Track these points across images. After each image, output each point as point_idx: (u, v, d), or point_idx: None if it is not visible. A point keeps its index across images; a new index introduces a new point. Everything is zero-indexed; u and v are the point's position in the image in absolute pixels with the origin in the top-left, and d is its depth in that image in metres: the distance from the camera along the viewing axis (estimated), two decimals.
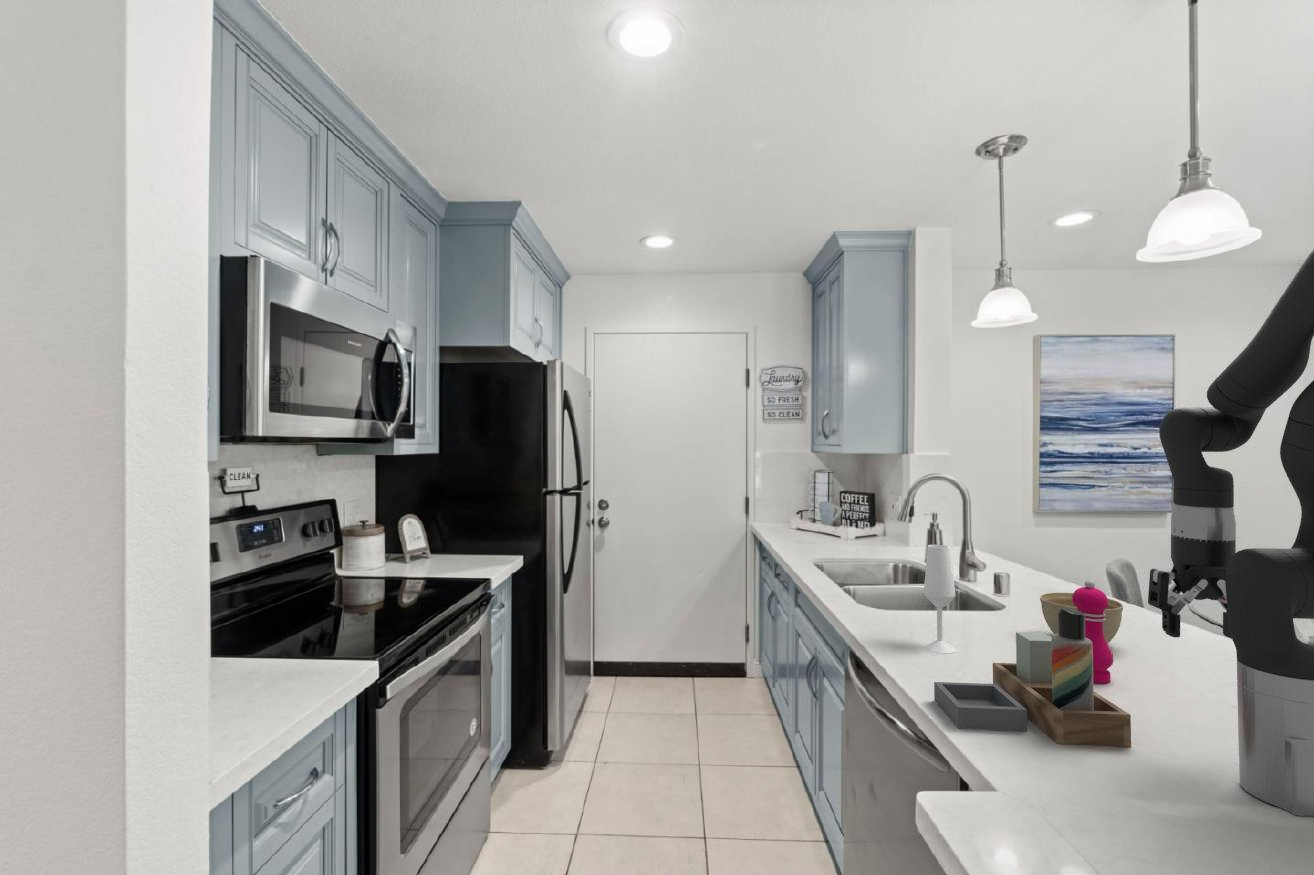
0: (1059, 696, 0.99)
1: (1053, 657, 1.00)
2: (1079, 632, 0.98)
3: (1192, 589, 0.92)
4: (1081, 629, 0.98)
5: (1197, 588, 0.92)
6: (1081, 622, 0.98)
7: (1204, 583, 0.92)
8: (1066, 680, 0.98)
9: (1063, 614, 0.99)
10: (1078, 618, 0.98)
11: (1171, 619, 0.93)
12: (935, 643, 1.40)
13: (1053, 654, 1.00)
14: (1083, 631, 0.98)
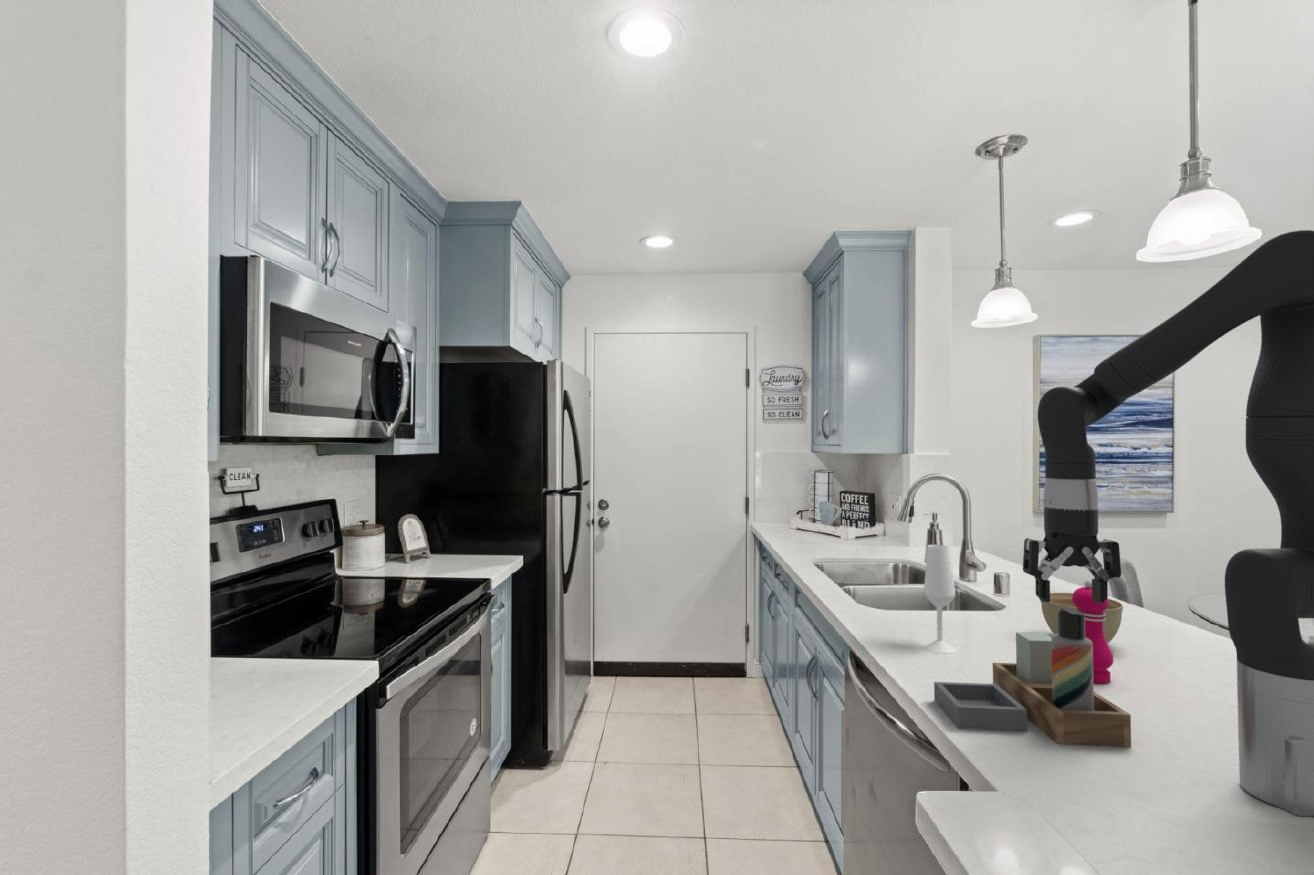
0: (1059, 696, 0.99)
1: (1053, 657, 1.00)
2: (1079, 632, 0.98)
3: (1059, 556, 0.99)
4: (1081, 629, 0.98)
5: (1064, 555, 0.99)
6: (1081, 622, 0.98)
7: (1070, 550, 0.98)
8: (1066, 680, 0.98)
9: (1063, 614, 0.99)
10: (1078, 618, 0.98)
11: (1042, 585, 1.00)
12: (935, 643, 1.40)
13: (1053, 654, 1.00)
14: (1083, 631, 0.98)
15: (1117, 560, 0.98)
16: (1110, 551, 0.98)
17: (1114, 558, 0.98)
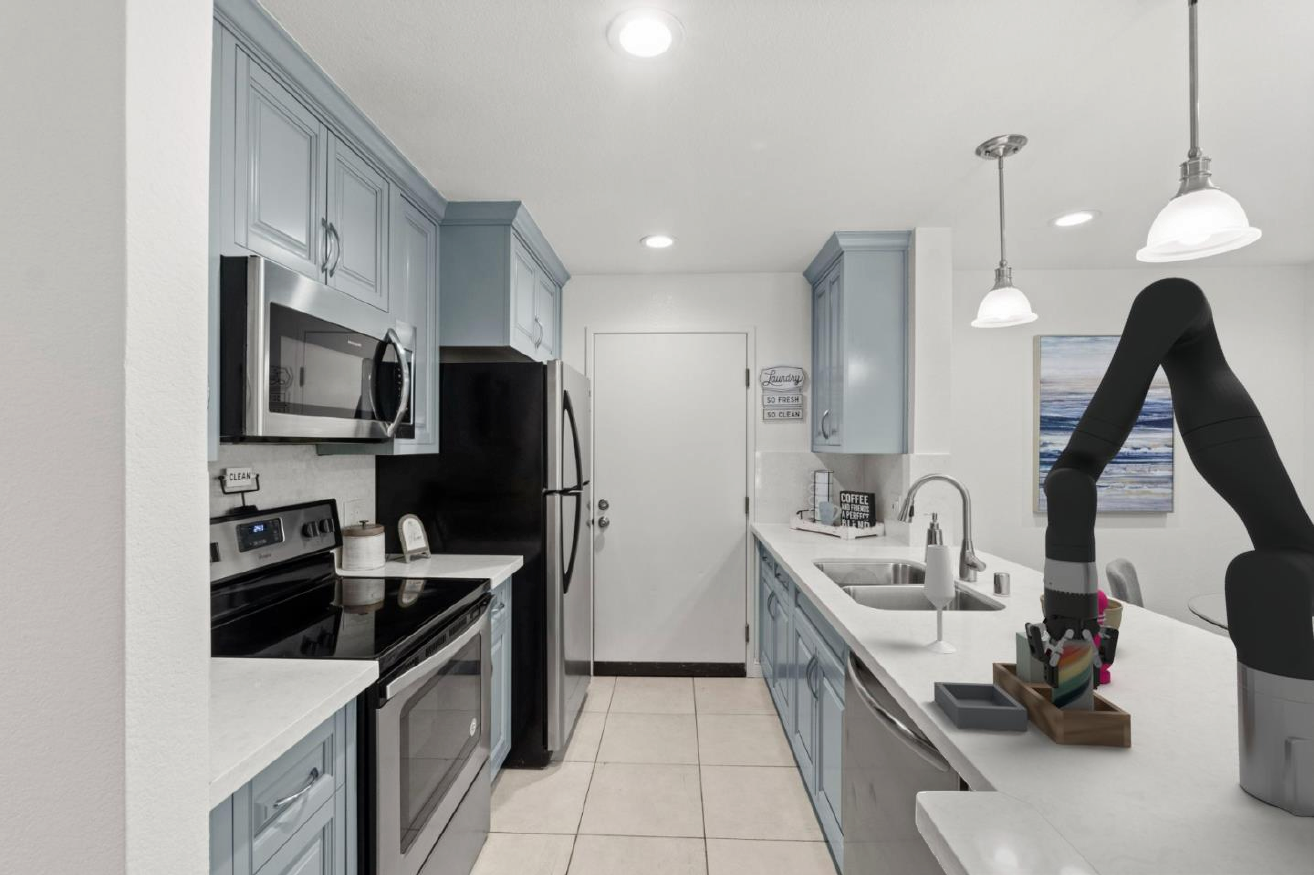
0: (1059, 696, 0.99)
1: None
2: (1079, 632, 0.98)
3: (1062, 640, 0.98)
4: (1081, 629, 0.98)
5: (1066, 638, 0.98)
6: (1081, 622, 0.98)
7: (1070, 632, 0.98)
8: (1066, 680, 0.98)
9: None
10: None
11: (1050, 671, 1.00)
12: (935, 643, 1.40)
13: None
14: None
15: (1113, 647, 0.98)
16: (1108, 637, 0.98)
17: (1110, 644, 0.98)
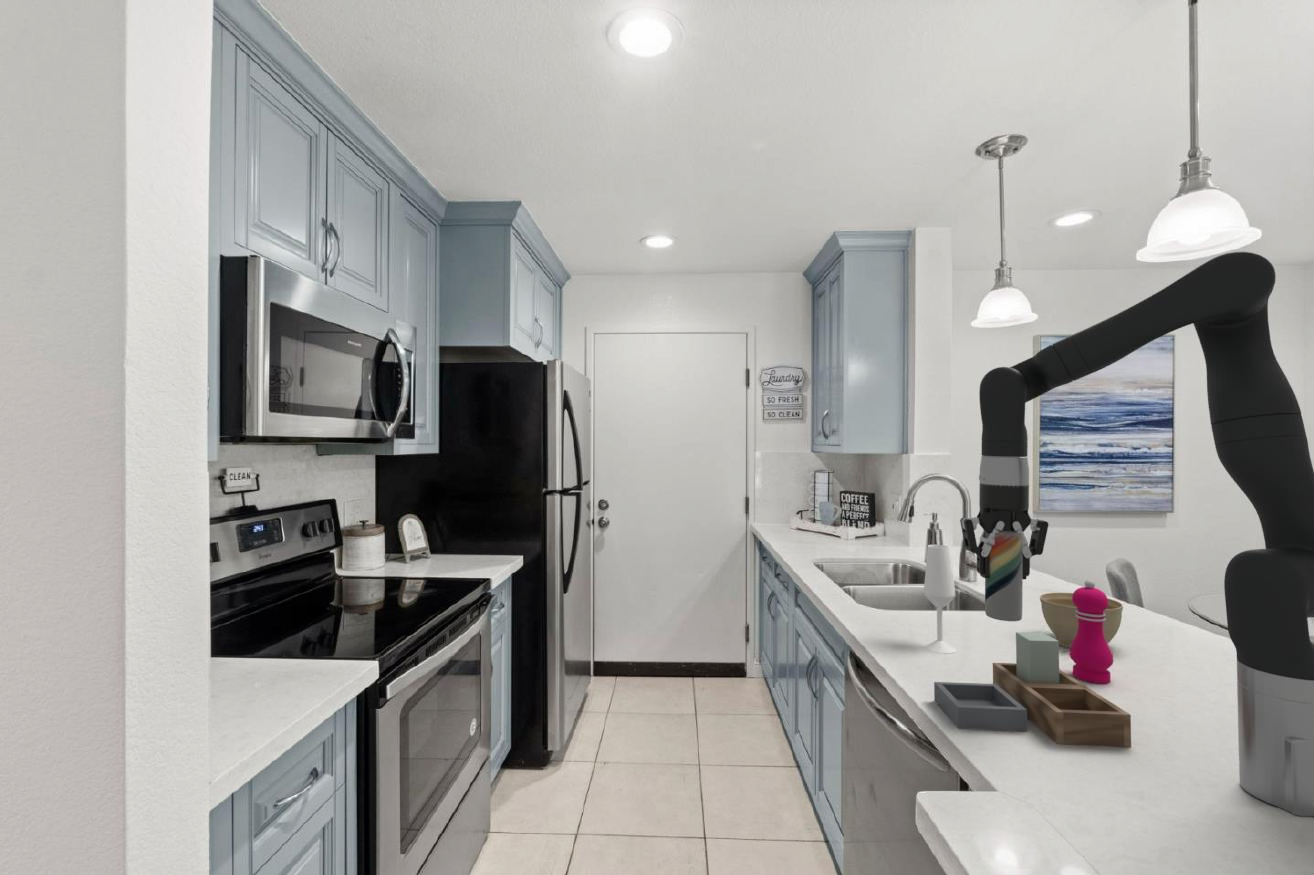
0: (990, 585, 1.04)
1: None
2: (1009, 524, 1.03)
3: (993, 532, 1.03)
4: (1011, 521, 1.03)
5: (997, 530, 1.03)
6: (1012, 514, 1.03)
7: (1001, 524, 1.03)
8: (996, 569, 1.03)
9: None
10: None
11: (982, 561, 1.05)
12: (935, 643, 1.40)
13: None
14: None
15: (1042, 539, 1.03)
16: (1038, 529, 1.03)
17: (1040, 536, 1.03)
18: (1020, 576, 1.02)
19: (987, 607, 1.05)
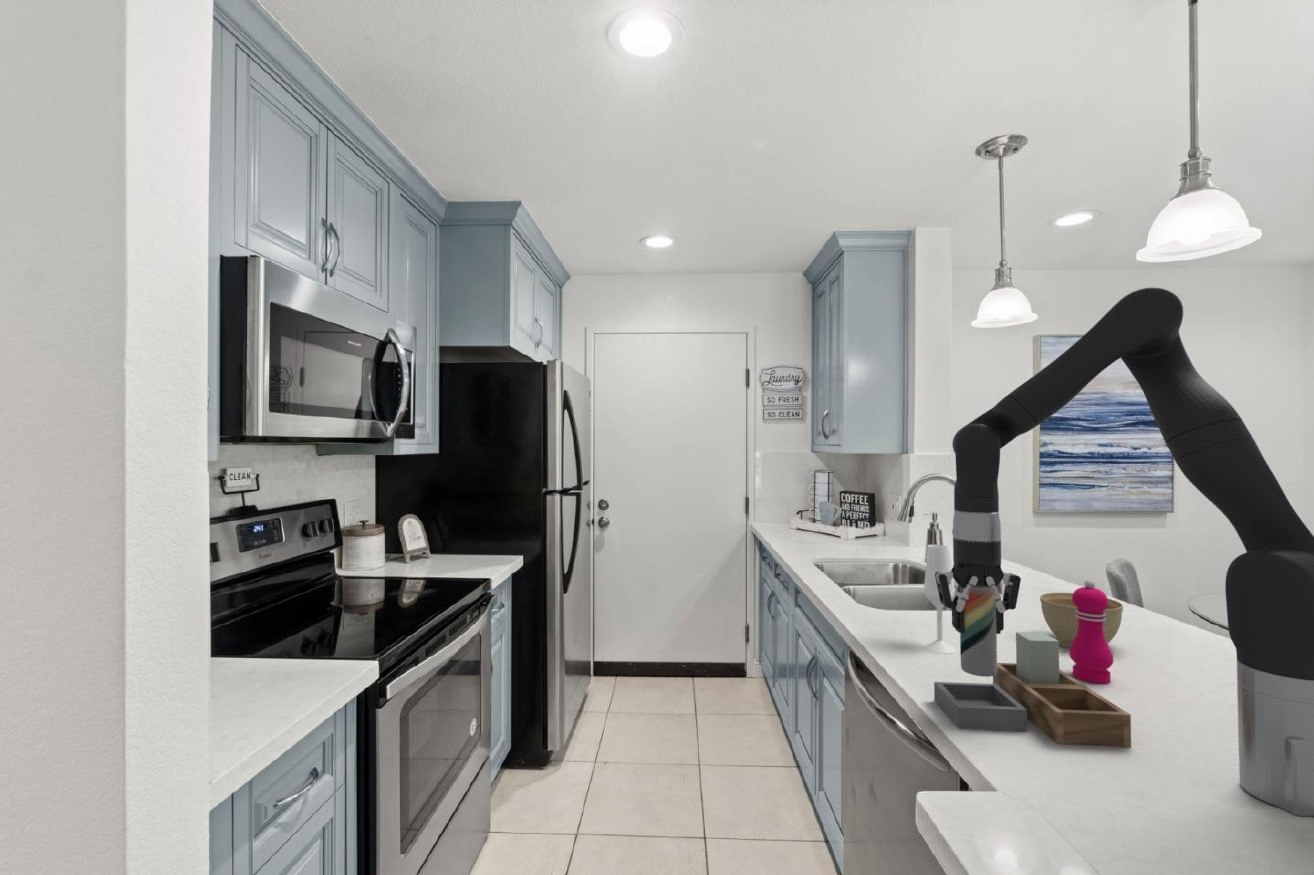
0: (965, 640, 1.05)
1: None
2: (982, 579, 1.04)
3: (967, 587, 1.04)
4: (984, 576, 1.04)
5: (970, 585, 1.04)
6: (984, 569, 1.04)
7: (974, 579, 1.04)
8: (970, 624, 1.04)
9: None
10: None
11: (957, 616, 1.05)
12: (935, 643, 1.40)
13: None
14: None
15: (1015, 593, 1.04)
16: (1011, 584, 1.04)
17: (1013, 590, 1.04)
18: (994, 631, 1.03)
19: (962, 662, 1.05)
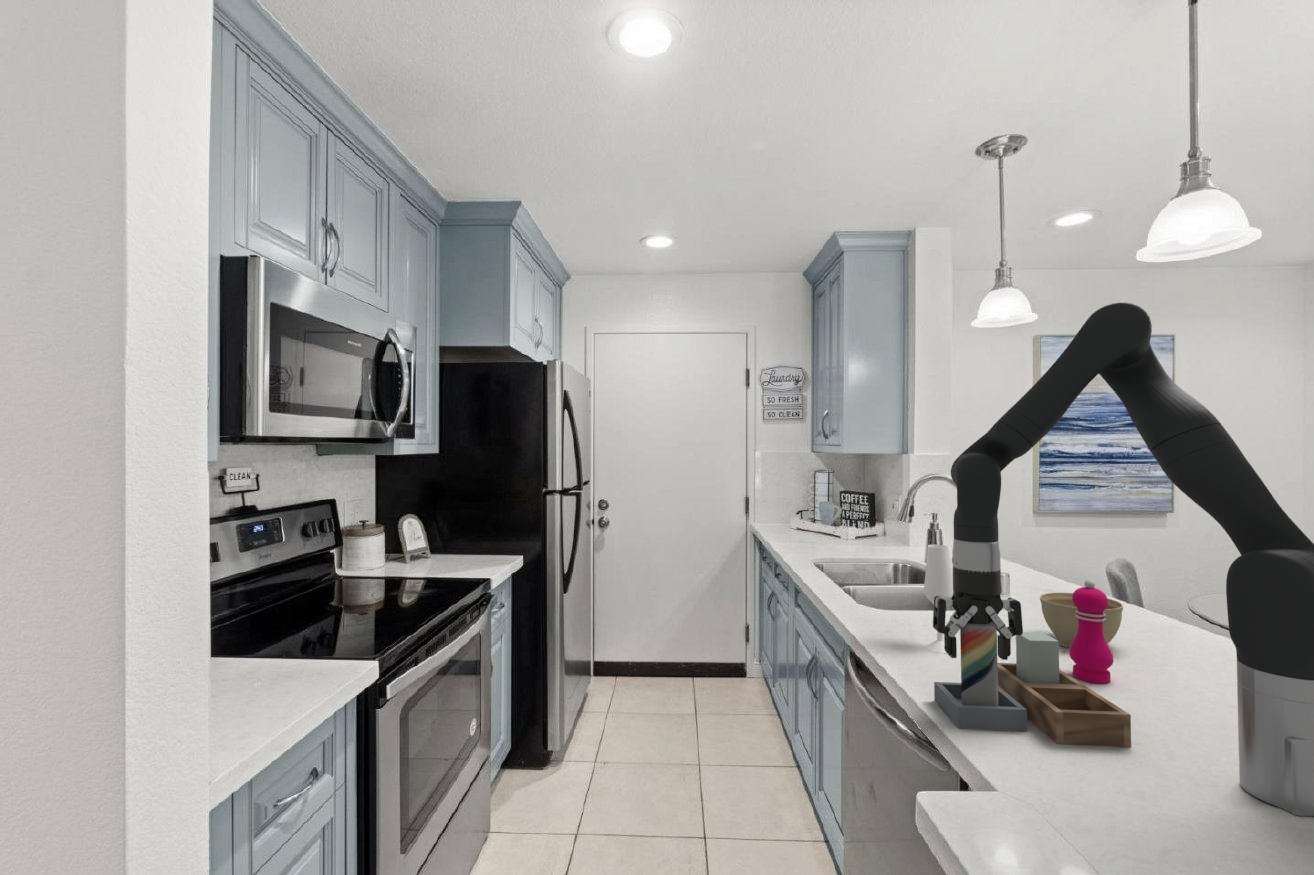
0: (966, 678, 1.04)
1: (961, 641, 1.06)
2: (983, 617, 1.03)
3: (965, 614, 1.04)
4: (985, 614, 1.03)
5: (969, 614, 1.04)
6: (985, 607, 1.03)
7: (974, 609, 1.04)
8: (971, 663, 1.03)
9: None
10: (982, 604, 1.03)
11: (949, 641, 1.05)
12: (935, 643, 1.40)
13: (961, 638, 1.06)
14: (987, 616, 1.04)
15: (1019, 619, 1.03)
16: (1012, 610, 1.04)
17: (1016, 616, 1.04)
18: (995, 670, 1.03)
19: (963, 700, 1.05)
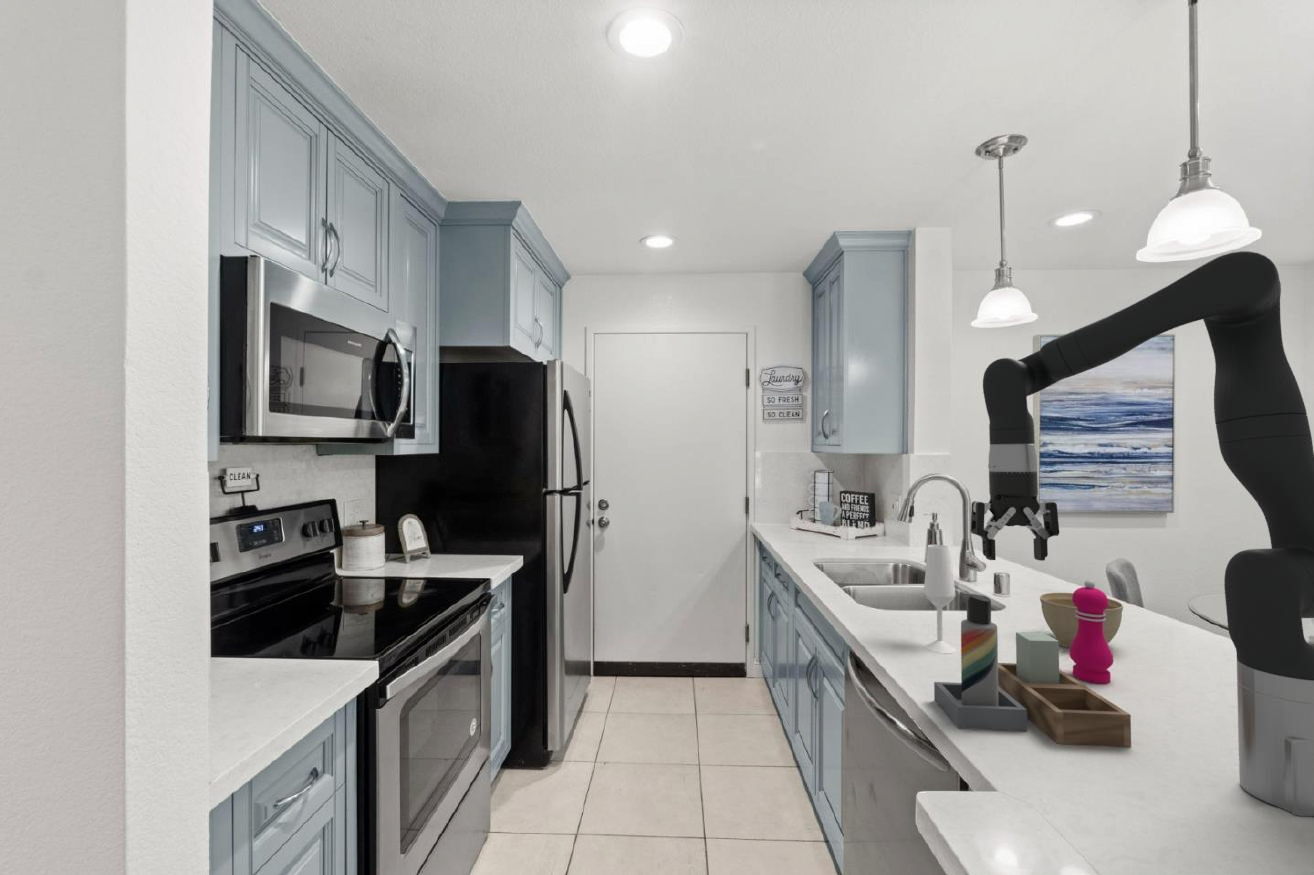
0: (966, 678, 1.04)
1: (961, 641, 1.06)
2: (984, 617, 1.03)
3: (1003, 516, 1.06)
4: (986, 614, 1.03)
5: (1007, 515, 1.06)
6: (986, 608, 1.03)
7: (1012, 510, 1.05)
8: (971, 663, 1.03)
9: (970, 600, 1.05)
10: (983, 604, 1.03)
11: (988, 544, 1.07)
12: (935, 643, 1.40)
13: (961, 638, 1.06)
14: (988, 616, 1.04)
15: (1055, 519, 1.06)
16: (1049, 511, 1.06)
17: (1052, 517, 1.06)
18: (995, 670, 1.03)
19: (963, 700, 1.05)
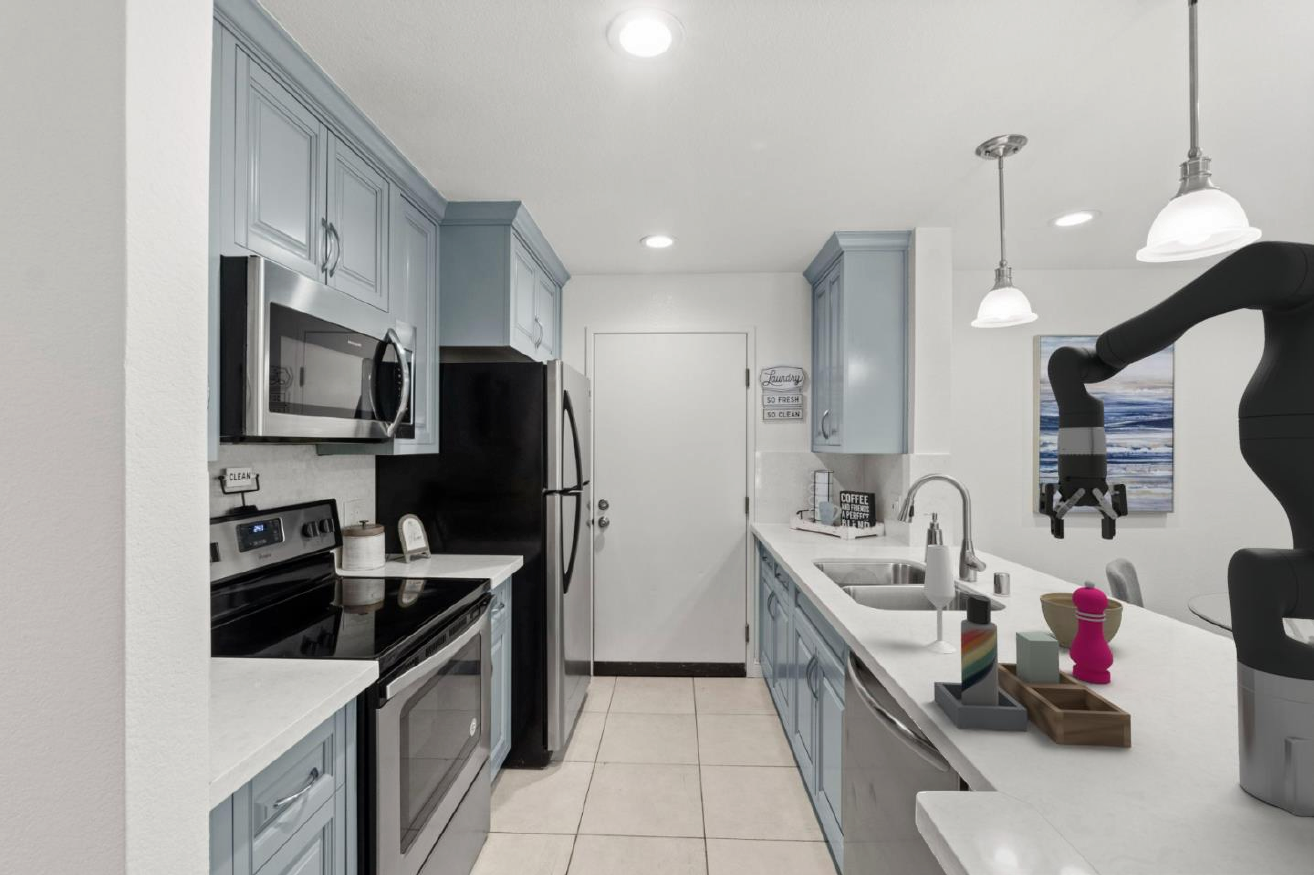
0: (966, 678, 1.04)
1: (961, 641, 1.06)
2: (984, 617, 1.03)
3: (1072, 497, 1.10)
4: (986, 614, 1.03)
5: (1076, 496, 1.10)
6: (986, 608, 1.03)
7: (1082, 491, 1.10)
8: (971, 663, 1.03)
9: (970, 600, 1.05)
10: (983, 604, 1.03)
11: (1057, 523, 1.11)
12: (935, 643, 1.40)
13: (961, 638, 1.06)
14: (988, 616, 1.04)
15: (1124, 500, 1.10)
16: (1118, 492, 1.10)
17: (1121, 498, 1.10)
18: (995, 670, 1.03)
19: (963, 700, 1.05)
